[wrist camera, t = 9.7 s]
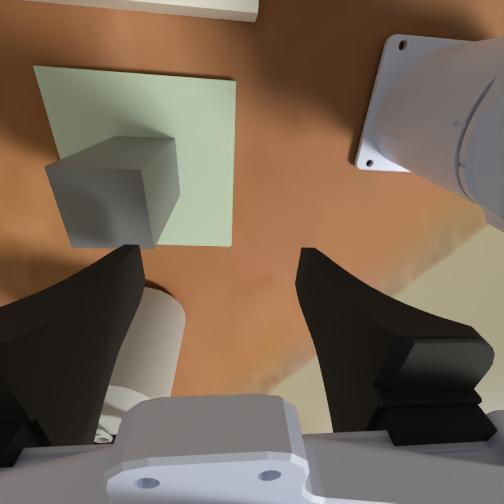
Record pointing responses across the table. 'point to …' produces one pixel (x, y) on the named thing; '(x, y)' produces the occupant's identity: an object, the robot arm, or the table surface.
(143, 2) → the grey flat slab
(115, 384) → the can
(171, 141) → the plug
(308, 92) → the table surface
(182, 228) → the mat
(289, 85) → the table surface
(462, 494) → the robot arm
